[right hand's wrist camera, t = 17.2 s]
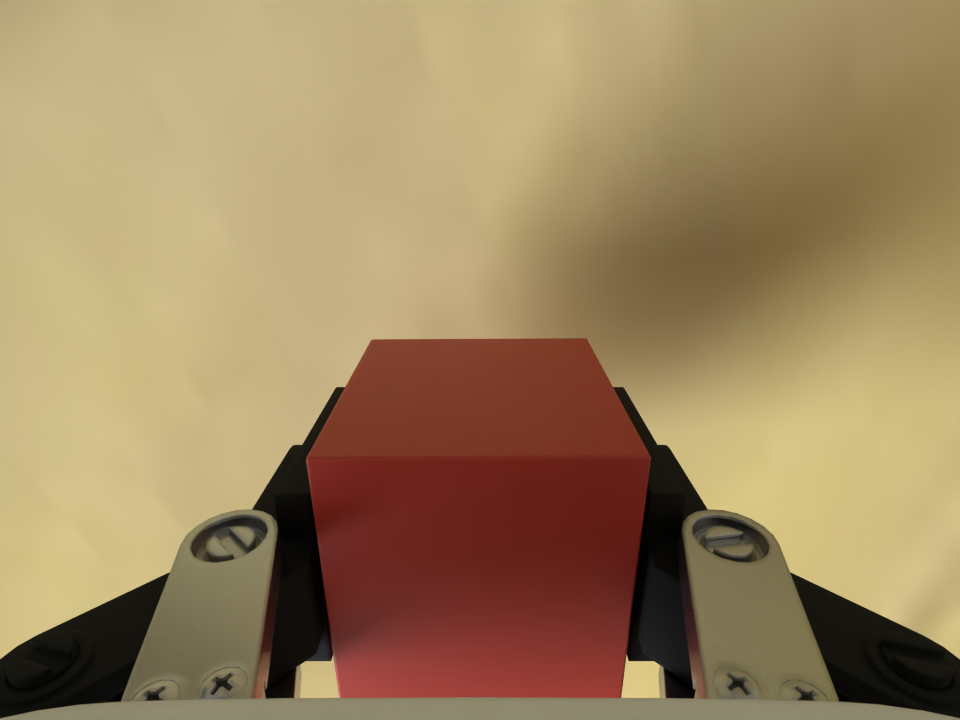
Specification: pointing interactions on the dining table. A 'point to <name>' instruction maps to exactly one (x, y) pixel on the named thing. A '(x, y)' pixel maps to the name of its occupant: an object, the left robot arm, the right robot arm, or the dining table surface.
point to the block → (479, 521)
